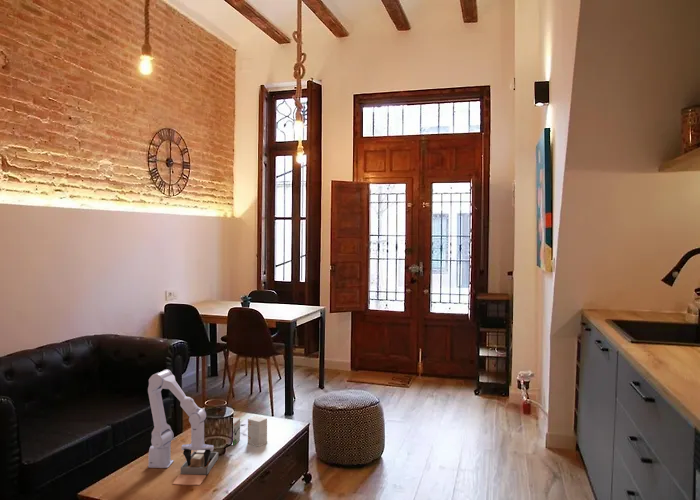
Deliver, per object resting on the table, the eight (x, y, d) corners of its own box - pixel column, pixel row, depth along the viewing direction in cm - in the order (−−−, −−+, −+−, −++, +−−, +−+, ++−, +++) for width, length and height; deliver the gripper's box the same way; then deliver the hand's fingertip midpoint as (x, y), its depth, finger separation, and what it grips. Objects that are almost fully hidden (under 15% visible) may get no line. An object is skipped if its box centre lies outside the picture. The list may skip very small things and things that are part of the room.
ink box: (233, 446, 280) (233, 423, 279) (224, 445, 281) (224, 422, 280) (240, 439, 288) (240, 417, 288) (231, 439, 289) (231, 416, 289)
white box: (196, 464, 257) (196, 452, 257) (200, 459, 263) (200, 447, 263) (205, 465, 257) (205, 452, 257) (209, 459, 263) (209, 447, 263)
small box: (267, 442, 285) (267, 418, 284) (259, 446, 279) (259, 421, 279) (255, 439, 289) (255, 415, 289) (247, 443, 284) (247, 418, 283)
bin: (180, 473, 247) (180, 467, 247) (193, 457, 265) (193, 451, 265) (207, 474, 247) (207, 468, 247) (218, 458, 265) (218, 452, 265)
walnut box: (190, 472, 249) (190, 459, 249) (194, 466, 255) (194, 453, 255) (200, 472, 249) (200, 459, 249) (204, 466, 255) (204, 453, 255)
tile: (172, 484, 237) (172, 483, 237) (179, 475, 246) (179, 474, 246) (199, 485, 236) (199, 484, 236) (206, 476, 245) (206, 475, 245)
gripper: (179, 439, 248) (179, 468, 248) (210, 440, 247) (210, 469, 248) (184, 433, 255) (184, 462, 255) (215, 434, 254) (214, 463, 255)
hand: (197, 465), depth 252 cm, fingers open, 7 cm apart
